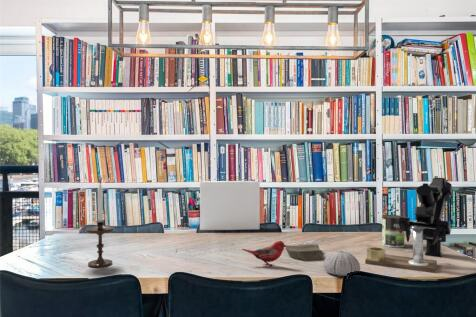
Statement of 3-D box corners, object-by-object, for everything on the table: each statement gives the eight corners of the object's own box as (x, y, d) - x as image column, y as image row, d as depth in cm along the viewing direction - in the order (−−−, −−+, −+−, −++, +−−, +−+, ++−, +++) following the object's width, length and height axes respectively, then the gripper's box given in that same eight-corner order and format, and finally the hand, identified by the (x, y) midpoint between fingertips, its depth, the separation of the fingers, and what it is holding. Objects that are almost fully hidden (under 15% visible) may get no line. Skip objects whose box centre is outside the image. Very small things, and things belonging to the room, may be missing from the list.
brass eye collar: (369, 256, 162) (369, 246, 162) (386, 258, 158) (386, 248, 158) (365, 259, 156) (365, 249, 156) (383, 261, 153) (383, 251, 153)
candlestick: (119, 261, 158) (119, 175, 158) (104, 269, 147) (104, 177, 147) (96, 260, 160) (95, 175, 160) (79, 267, 150) (79, 176, 149)
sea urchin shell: (318, 268, 149) (318, 247, 149) (352, 267, 151) (352, 246, 151) (330, 279, 136) (330, 256, 136) (367, 278, 137) (367, 255, 137)
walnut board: (371, 256, 167) (371, 252, 167) (436, 264, 155) (436, 260, 155) (365, 263, 156) (365, 259, 156) (435, 272, 143) (435, 268, 143)
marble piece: (318, 251, 177) (318, 242, 177) (330, 260, 162) (330, 250, 162) (282, 252, 174) (282, 243, 174) (291, 261, 160) (291, 251, 160)
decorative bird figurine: (286, 267, 150) (286, 241, 150) (241, 265, 153) (241, 240, 152) (286, 265, 153) (286, 240, 152) (242, 263, 155) (242, 238, 155)
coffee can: (409, 246, 185) (409, 217, 185) (392, 248, 181) (392, 218, 181) (393, 242, 195) (393, 214, 195) (377, 243, 191) (377, 215, 191)
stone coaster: (409, 260, 155) (409, 259, 155) (428, 263, 151) (428, 261, 151) (407, 264, 149) (407, 263, 149) (427, 267, 145) (427, 265, 145)
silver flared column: (408, 260, 153) (408, 225, 153) (422, 260, 152) (421, 225, 153) (414, 263, 147) (413, 227, 148) (428, 263, 147) (427, 227, 147)
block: (200, 230, 225) (200, 182, 225) (199, 227, 233) (200, 181, 233) (259, 229, 229) (259, 181, 229) (257, 226, 237) (257, 180, 237)
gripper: (399, 197, 161) (390, 227, 153) (449, 200, 150) (443, 233, 141) (404, 213, 168) (396, 244, 159) (453, 218, 156) (447, 251, 148)
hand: (419, 242), depth 152 cm, fingers open, 9 cm apart
